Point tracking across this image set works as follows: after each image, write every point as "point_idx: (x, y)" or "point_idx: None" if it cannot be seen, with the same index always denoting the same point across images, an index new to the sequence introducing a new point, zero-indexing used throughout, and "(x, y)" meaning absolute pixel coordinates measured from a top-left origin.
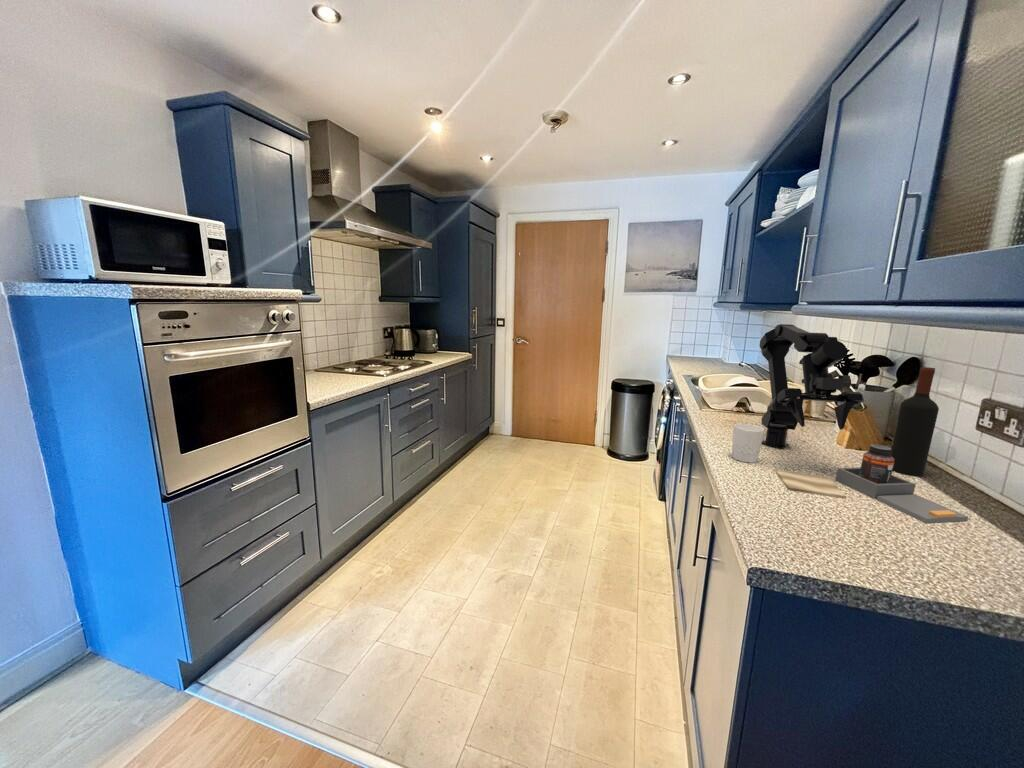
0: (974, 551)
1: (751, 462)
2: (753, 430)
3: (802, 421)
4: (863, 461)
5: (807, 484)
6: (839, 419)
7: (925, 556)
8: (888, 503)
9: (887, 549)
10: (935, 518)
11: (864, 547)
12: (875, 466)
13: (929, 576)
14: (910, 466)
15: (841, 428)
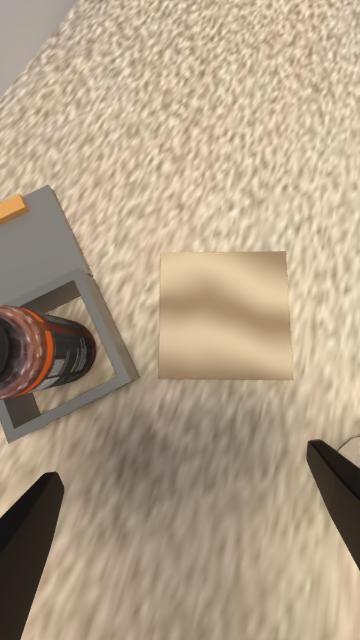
0: (38, 111)
1: (353, 438)
2: None
3: (346, 461)
4: (58, 349)
5: (231, 294)
6: (11, 595)
7: (128, 65)
8: (80, 251)
9: (177, 63)
10: (28, 194)
11: (212, 55)
12: (40, 314)
13: (155, 12)
14: None
15: (56, 476)
